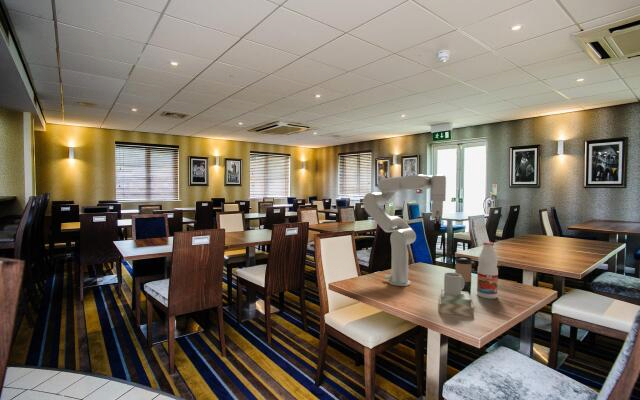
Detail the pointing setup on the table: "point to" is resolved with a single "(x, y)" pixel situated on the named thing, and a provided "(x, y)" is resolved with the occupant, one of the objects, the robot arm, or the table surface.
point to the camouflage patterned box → (456, 304)
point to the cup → (453, 284)
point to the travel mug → (464, 271)
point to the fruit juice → (487, 272)
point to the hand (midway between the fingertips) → (437, 230)
